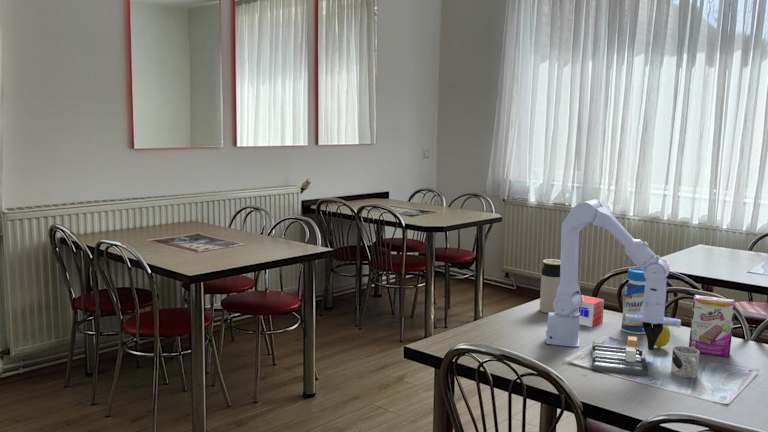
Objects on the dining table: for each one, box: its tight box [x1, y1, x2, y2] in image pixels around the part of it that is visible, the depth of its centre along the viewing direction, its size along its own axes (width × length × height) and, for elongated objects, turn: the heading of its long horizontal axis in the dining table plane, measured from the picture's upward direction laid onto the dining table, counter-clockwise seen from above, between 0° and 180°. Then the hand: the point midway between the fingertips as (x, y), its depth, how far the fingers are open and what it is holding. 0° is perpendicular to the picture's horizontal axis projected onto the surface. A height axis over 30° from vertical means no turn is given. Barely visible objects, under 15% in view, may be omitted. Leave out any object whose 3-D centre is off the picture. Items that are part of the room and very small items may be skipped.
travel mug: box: [539, 258, 561, 314], centre depth 248 cm, size 8×8×18 cm
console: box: [591, 341, 649, 377], centre depth 200 cm, size 14×20×3 cm
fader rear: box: [626, 335, 638, 351], centre depth 203 cm, size 2×4×4 cm, turn 164°
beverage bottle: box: [620, 267, 646, 335], centre depth 227 cm, size 8×8×20 cm
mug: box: [670, 345, 701, 379], centre depth 189 cm, size 10×7×7 cm, turn 178°
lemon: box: [651, 325, 671, 349], centre depth 211 cm, size 6×6×8 cm
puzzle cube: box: [578, 294, 605, 328], centre depth 237 cm, size 8×8×8 cm
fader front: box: [625, 345, 636, 363], centre depth 194 cm, size 2×4×4 cm, turn 164°
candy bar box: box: [688, 294, 736, 358], centre depth 208 cm, size 11×5×16 cm, turn 65°
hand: (650, 348), depth 202 cm, fingers closed
